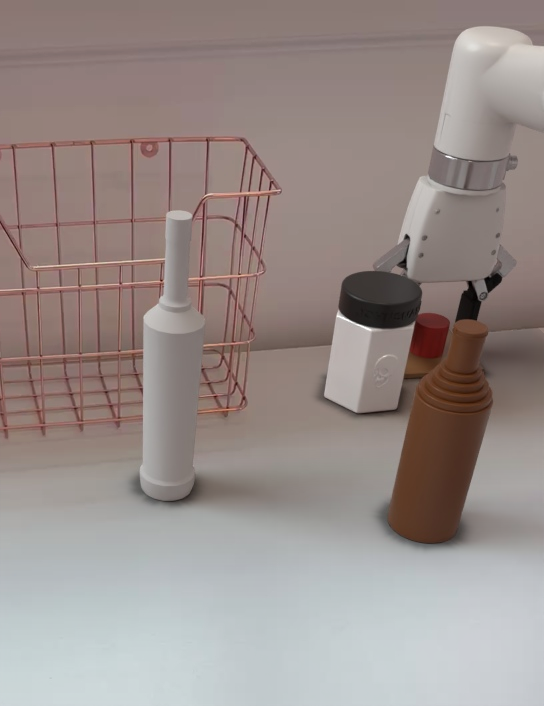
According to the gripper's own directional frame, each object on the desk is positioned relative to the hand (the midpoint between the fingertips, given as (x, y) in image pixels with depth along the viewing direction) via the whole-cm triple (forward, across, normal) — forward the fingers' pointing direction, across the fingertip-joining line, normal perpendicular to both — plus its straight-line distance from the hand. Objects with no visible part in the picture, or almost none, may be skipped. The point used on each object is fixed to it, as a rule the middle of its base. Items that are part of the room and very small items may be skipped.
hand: (430, 330), depth 117 cm
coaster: (+3, 0, 0) cm, 3 cm away
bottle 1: (+3, +35, +22) cm, 41 cm away
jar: (+3, +10, +8) cm, 13 cm away
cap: (+2, 0, 0) cm, 2 cm away
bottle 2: (+3, +13, +31) cm, 34 cm away
